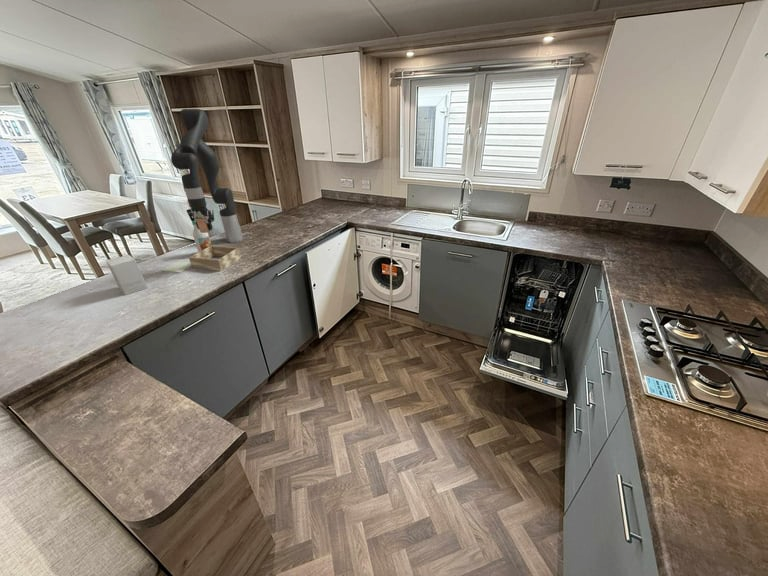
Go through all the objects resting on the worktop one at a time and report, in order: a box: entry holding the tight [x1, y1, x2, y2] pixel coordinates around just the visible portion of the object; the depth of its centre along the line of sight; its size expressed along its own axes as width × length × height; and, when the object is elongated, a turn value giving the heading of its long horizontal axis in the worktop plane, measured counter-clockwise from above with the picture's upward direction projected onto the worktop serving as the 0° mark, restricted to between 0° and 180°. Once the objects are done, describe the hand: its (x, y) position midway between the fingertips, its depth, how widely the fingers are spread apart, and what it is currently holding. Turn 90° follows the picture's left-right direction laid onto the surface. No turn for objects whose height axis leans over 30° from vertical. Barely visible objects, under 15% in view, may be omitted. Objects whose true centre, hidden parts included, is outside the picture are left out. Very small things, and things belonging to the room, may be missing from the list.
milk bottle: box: [191, 221, 213, 253], centre depth 172 cm, size 8×8×20 cm
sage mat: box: [161, 261, 192, 274], centre depth 160 cm, size 11×11×1 cm
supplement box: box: [105, 254, 148, 296], centre depth 136 cm, size 9×9×15 cm
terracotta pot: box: [195, 212, 213, 233], centre depth 154 cm, size 6×6×11 cm
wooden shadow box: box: [188, 245, 242, 272], centre depth 165 cm, size 18×18×6 cm
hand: (205, 229), depth 156 cm, fingers closed on terracotta pot, 5 cm apart
